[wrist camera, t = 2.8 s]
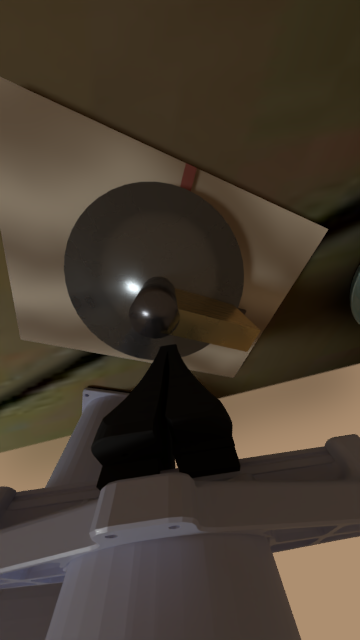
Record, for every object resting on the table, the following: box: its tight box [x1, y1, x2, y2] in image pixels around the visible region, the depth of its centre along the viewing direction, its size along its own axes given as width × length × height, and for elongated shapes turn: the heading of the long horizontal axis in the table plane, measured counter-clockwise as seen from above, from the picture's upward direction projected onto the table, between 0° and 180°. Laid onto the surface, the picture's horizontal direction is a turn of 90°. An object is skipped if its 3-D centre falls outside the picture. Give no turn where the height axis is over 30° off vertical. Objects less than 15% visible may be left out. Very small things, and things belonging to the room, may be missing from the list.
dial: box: [64, 182, 261, 360], centre depth 10 cm, size 13×13×5 cm
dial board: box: [0, 77, 328, 378], centre depth 13 cm, size 16×22×2 cm
